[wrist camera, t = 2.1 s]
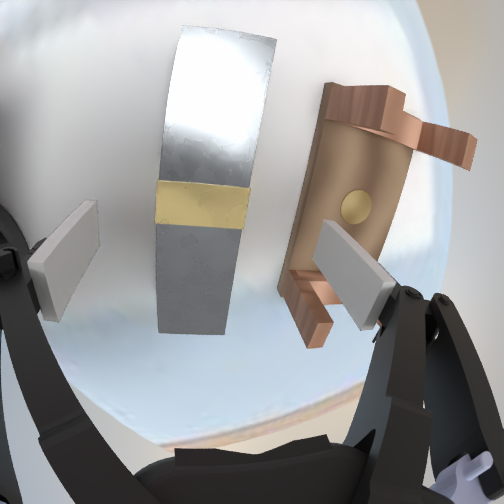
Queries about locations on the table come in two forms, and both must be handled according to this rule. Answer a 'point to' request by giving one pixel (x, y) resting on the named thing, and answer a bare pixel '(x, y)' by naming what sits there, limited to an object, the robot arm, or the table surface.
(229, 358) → the table surface
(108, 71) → the table surface
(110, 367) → the table surface
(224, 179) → the grey metal bar
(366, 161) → the stove stand
